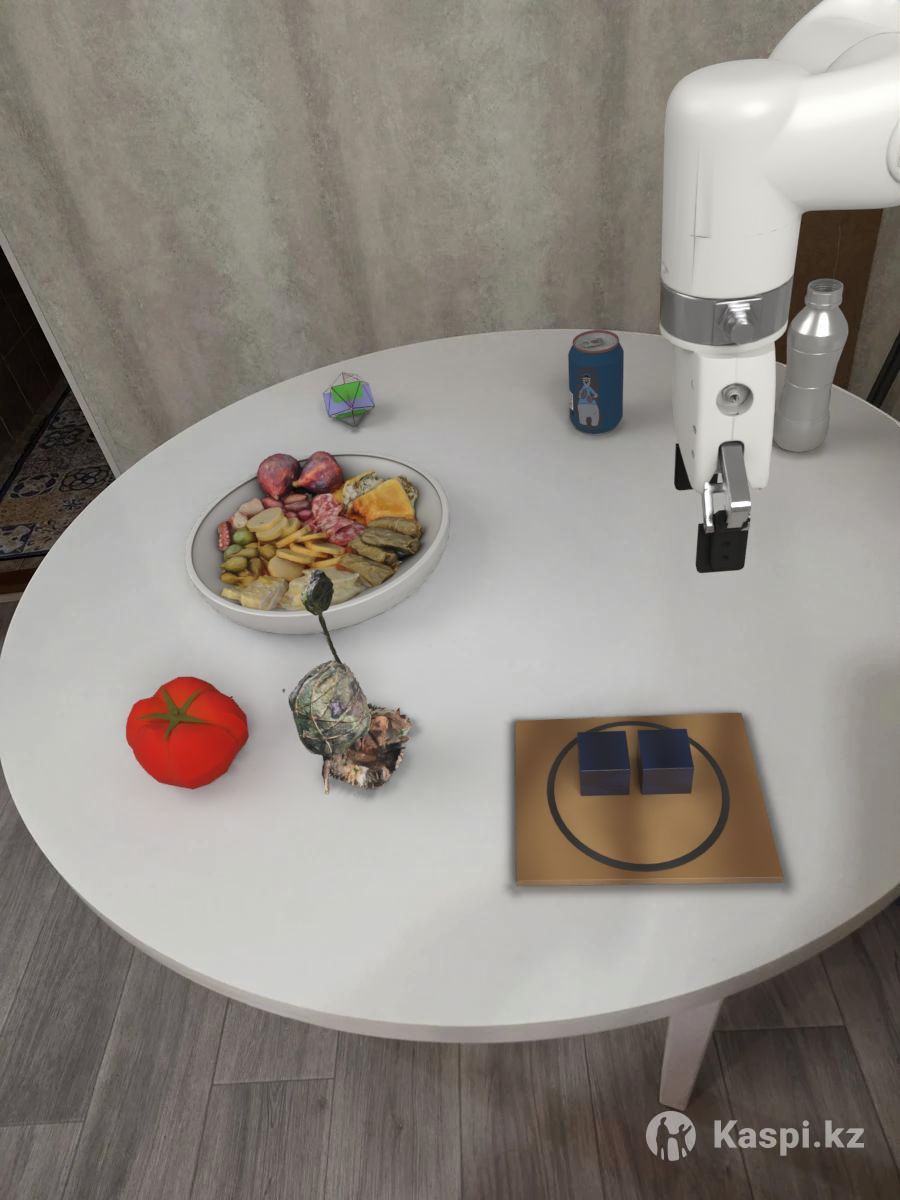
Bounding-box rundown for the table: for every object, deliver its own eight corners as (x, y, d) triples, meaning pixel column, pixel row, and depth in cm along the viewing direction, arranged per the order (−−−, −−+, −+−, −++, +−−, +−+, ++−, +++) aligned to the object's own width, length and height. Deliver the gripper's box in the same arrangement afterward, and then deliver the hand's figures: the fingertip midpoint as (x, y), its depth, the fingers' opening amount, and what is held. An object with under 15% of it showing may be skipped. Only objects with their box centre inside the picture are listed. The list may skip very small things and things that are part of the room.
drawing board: (740, 718, 77) (741, 710, 76) (782, 882, 65) (784, 875, 65) (516, 725, 79) (515, 718, 79) (517, 886, 68) (516, 879, 67)
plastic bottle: (758, 447, 107) (781, 290, 94) (788, 423, 110) (814, 268, 97) (806, 464, 103) (837, 304, 90) (836, 440, 106) (870, 281, 93)
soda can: (614, 407, 118) (615, 323, 110) (628, 432, 113) (631, 347, 105) (564, 415, 118) (562, 333, 110) (576, 442, 113) (575, 357, 105)
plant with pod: (287, 779, 78) (222, 620, 64) (371, 698, 84) (328, 537, 70) (352, 823, 74) (297, 662, 60) (435, 735, 80) (402, 571, 66)
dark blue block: (624, 755, 74) (625, 730, 72) (629, 795, 71) (630, 769, 69) (577, 757, 75) (577, 731, 72) (580, 796, 72) (580, 771, 69)
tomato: (202, 696, 87) (181, 650, 82) (273, 745, 81) (255, 699, 77) (121, 761, 82) (94, 716, 77) (191, 819, 76) (166, 774, 71)
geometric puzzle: (380, 419, 119) (366, 361, 118) (331, 429, 118) (317, 371, 117) (378, 426, 126) (365, 371, 125) (332, 436, 125) (318, 381, 125)
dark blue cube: (683, 754, 74) (686, 728, 71) (691, 793, 71) (694, 767, 68) (636, 755, 74) (637, 729, 72) (641, 795, 71) (642, 769, 69)
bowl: (503, 571, 95) (498, 514, 90) (252, 693, 86) (229, 638, 81) (381, 456, 116) (370, 404, 110) (167, 545, 106) (144, 493, 101)
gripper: (829, 364, 45) (788, 602, 57) (756, 240, 58) (735, 455, 69) (683, 379, 46) (672, 610, 58) (642, 254, 59) (640, 464, 70)
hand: (706, 525), depth 64 cm, fingers open, 9 cm apart
